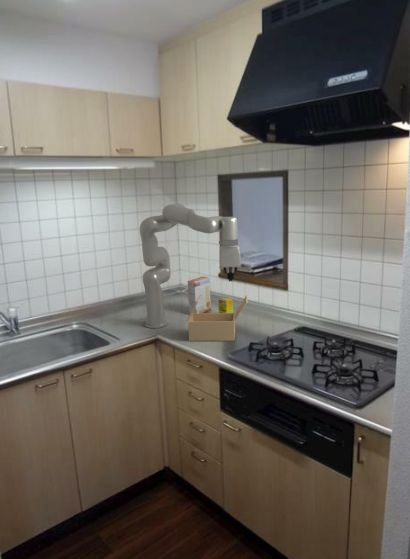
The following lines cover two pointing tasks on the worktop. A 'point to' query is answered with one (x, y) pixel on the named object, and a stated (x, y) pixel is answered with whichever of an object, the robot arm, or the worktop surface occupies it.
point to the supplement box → (225, 305)
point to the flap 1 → (193, 308)
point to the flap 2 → (240, 308)
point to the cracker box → (195, 290)
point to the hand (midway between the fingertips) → (230, 280)
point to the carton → (211, 327)
